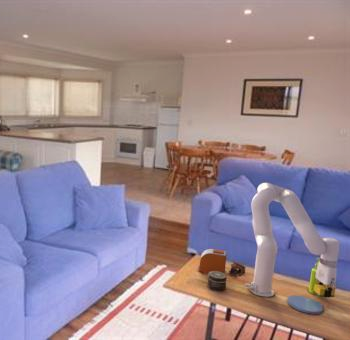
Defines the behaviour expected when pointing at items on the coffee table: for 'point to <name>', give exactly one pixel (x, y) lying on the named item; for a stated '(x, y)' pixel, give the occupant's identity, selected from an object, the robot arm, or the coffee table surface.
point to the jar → (217, 280)
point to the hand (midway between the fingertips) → (323, 294)
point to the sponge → (322, 290)
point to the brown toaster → (213, 261)
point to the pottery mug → (235, 271)
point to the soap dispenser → (313, 278)
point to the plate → (305, 304)
